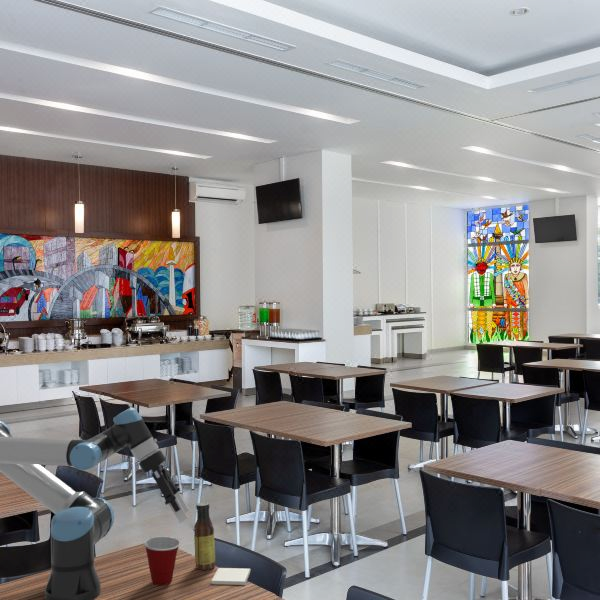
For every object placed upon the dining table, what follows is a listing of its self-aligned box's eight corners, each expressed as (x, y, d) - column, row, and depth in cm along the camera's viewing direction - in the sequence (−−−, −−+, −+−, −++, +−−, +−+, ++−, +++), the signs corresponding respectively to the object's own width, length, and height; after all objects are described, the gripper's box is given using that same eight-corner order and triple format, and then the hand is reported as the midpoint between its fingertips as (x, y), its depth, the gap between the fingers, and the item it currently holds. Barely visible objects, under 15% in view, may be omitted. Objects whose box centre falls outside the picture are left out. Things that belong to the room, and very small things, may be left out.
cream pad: (211, 584, 205) (211, 580, 205) (218, 571, 215) (218, 567, 215) (244, 584, 204) (244, 581, 204) (250, 571, 214) (250, 568, 214)
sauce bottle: (219, 565, 219) (218, 502, 219) (206, 572, 214) (205, 507, 214) (203, 562, 223) (202, 500, 223) (190, 568, 217) (189, 504, 217)
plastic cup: (172, 590, 201) (172, 548, 201) (138, 587, 203) (137, 546, 203) (186, 575, 211) (186, 536, 212) (153, 573, 214) (152, 534, 214)
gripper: (156, 452, 199) (194, 516, 198) (162, 445, 223) (196, 502, 222) (133, 466, 198) (171, 531, 197) (141, 458, 222) (175, 516, 221)
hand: (184, 516), depth 209 cm, fingers open, 13 cm apart
